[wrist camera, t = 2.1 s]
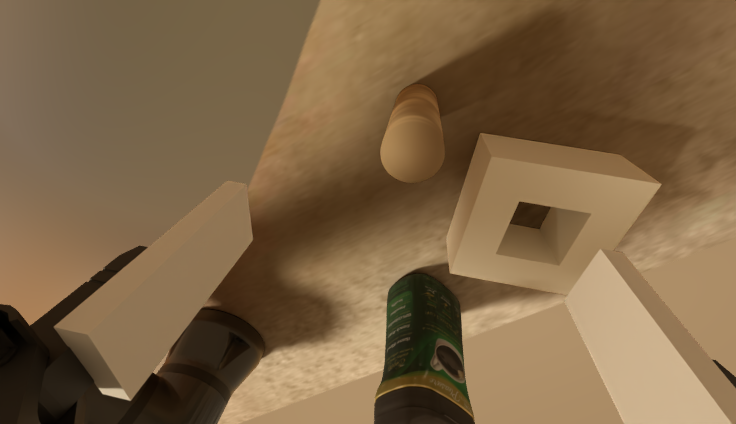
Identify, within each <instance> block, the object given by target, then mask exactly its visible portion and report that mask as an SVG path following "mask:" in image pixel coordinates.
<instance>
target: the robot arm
mask: <svg viewBox="0 0 736 424" xmlns="http://www.w3.org/2000/svg"><path fill="white" fill-rule="evenodd" d="M252 241H253V234H252V226H251V218H250V209H249V201H248V193H247V185H246V184H243V183H238V182H232V181H226V182H225V183H224V184H223V185H222V186H220V187H219V188H218V189H217V190H216V191H214V192H213V193H212V194H211V195H210V196H209V197H207V198H206V199H205V200H204V201H203V202H201V203H200V204H199V205H198V206H197V207H195V208H194V209H193V210H192V211H191V212H190V213H188V214H187V215H186V216H185V217H184V218H182V219H181V220H180V221H179V222H178V223H176V224H175V225H174V226H173V227H172V228H170V229H169V230H168V231H167V232H166V233H165V234H163V235H162V236H161V237H160V238H159V239H157V240H156V241H155V242H154V243H153V244H151V245H150V246H149V247H144V246H138V247H136V248H134V249H132V250H130V251H128V252H125V253H123V254H122V255H119V256H118V257H117V258H116V259H114V260H113V261H112V262H110V263H109V264H108V265H107V266H105V267H104V269H103V271H99V272H98V273H97V274H95V275H94V276H93V277H91V278H90V281H89V282H85V283H84V284H83V285H81V286H80V287H79V288H78V289H76V290H75V291H74V292H72V293H71V294H70V295H69V296H68V297H66V298H65V299H64V300H62V301H61V302H60V303H59V304H57V305H56V306H55V307H53V308H52V309H51V310H50V311H48V313H46V314H45V315H43V316H42V317H41V318H40V319H38V320H37V321H36V322H34V323H33V324H32V325H30V326H29V325H28V323H27V322H26V321H25V320H24V318H23V317H22V316H21V315H20V313H19V312H18V311H17V310H16V309H15V308H13V307H12V306H10V305H2V304H0V424H217V423H218V421H219V419H220V417H221V415H222V413H223V411H224V409H225V407H226V405H227V403H228V401H229V399H230V397H231V395H232V394H233V392H234V391H235V390H236V389H237V388H238V387H239V385H240V384H241V383H242V382H243V381H244V380H245V379H246V378H247V377H248V376H249V374H250V373H251V372H252V371H253V370H254V369H255V368H256V367H257V365H258V364H259V362H260V360H261V358H262V355H263V353H264V350H265V347H264V342H263V340H262V338H261V337H260V335H259V334H258V333H257V332H256V330H254V329H253V328H252V327H251V326H250V325H249V324H247V323H246V322H244V321H243V320H241V319H239V318H237V317H235V316H233V315H230V314H228V313H225V312H221V311H217V310H209V309H202V310H200V309H201V308H202V306H203V305H204V304H205V303H206V301H207V300H208V299H209V297H210V296H211V295H212V293H213V292H214V291H215V289H216V288H217V287H218V285H219V284H220V283H221V282H222V280H223V279H224V278H225V276H226V275H227V274H228V272H229V271H230V270H231V268H232V267H233V266H234V264H235V263H236V262H237V261H238V259H239V258H240V257H241V255H242V254H243V253H244V251H245V250H246V249H247V247H248V246H249V245H250V243H251V242H252ZM564 302H565V304H566V306H567V308H568V310H569V312H570V314H571V316H572V318H573V320H574V322H575V324H576V326H577V328H578V330H579V332H580V334H581V336H582V339H583V341H584V343H585V345H586V347H587V349H588V351H589V353H590V355H591V357H592V359H593V361H594V363H595V365H596V367H597V369H598V371H599V373H600V375H601V377H602V380H603V381H604V384H605V386H606V388H607V390H608V392H609V394H610V396H611V398H612V400H613V402H614V404H615V406H616V408H617V410H618V412H619V414H620V416H621V418H622V421H623V423H624V424H736V377H735V376H734V375H732V374H731V373H730V372H729V371H728V370H726V369H725V368H724V367H723V366H722V365H721V364H719V363H718V362H717V361H716V360H712V359H711V358H710V357H709V356H708V355H707V353H706V352H705V351H704V350H703V348H702V347H701V346H700V345H699V344H698V342H697V341H696V340H695V339H694V338H693V337H692V335H691V334H690V333H689V332H688V330H687V329H686V328H685V327H684V326H683V325H682V323H681V322H680V321H679V320H678V318H677V317H676V316H675V315H674V314H673V313H672V311H671V310H670V309H669V308H668V307H667V305H666V304H665V303H664V302H663V301H662V299H661V298H660V297H659V296H658V294H657V293H656V292H655V291H654V290H653V288H652V287H651V286H650V285H649V284H648V282H647V281H646V280H645V279H644V278H643V276H642V275H641V274H640V273H639V272H638V270H637V269H636V268H635V267H634V266H633V264H632V263H631V262H630V261H629V260H628V258H627V257H626V256H625V255H624V254H623V253H622V252H617V251H611V250H606V249H600V250H599V251H598V253H597V254H596V255H595V257H594V258H593V260H592V261H591V262H590V264H589V265H588V267H587V268H586V270H585V271H584V272H583V274H582V275H581V277H580V278H579V280H578V281H577V282H576V284H575V285H574V287H573V288H572V290H571V291H570V292H569V294H568V295H567V297H566V298H565V299H564ZM168 351H169V353H168V356H167V358H166V361H165V363H164V364H163V366H162V367H161V368H160V370H159V371H158V373H157V374H154V373H153V371H154V370H155V368H156V367H157V366H158V364H159V363H160V362H161V360H162V359H163V358H164V356H165V355H166V354H167V352H168Z"/></svg>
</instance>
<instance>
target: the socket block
mask: <svg viewBox="0 0 736 424" xmlns="http://www.w3.org/2000/svg"><path fill="white" fill-rule="evenodd" d="M661 185H662V184H661V183H660V182H658V181H657V180H655V179H654V178H652V177H651V176H650V175H648V174H647V173H645V172H644V171H643V170H641V169H640V168H638V167H637V166H636V165H634V164H633V163H631V162H630V161H628V160H627V159H626V158H624V157H623V156H621V155H619V154H612V153H606V152H600V151H593V150H587V149H581V148H574V147H568V146H562V145H555V144H549V143H543V142H536V141H530V140H523V139H517V138H511V137H504V136H498V135H492V134H485V133H480V135H479V138H478V141H477V144H476V147H475V150H474V153H473V157H472V160H471V163H470V166H469V169H468V172H467V175H466V178H465V181H464V184H463V188H462V191H461V194H460V197H459V200H458V203H457V206H456V209H455V212H454V216H453V219H452V222H451V225H450V228H449V231H448V234H447V237H446V241H447V251H448V261H449V271H450V273H451V274H456V275H461V276H467V277H472V278H477V279H482V280H488V281H493V282H498V283H504V284H509V285H514V286H520V287H525V288H530V289H535V290H541V291H546V292H551V293H557V294H562V295H568V294H569V292H570V291H571V290H572V288H573V287H574V285H575V284H576V282H577V281H578V280H579V278H580V277H581V275H582V274H583V272H584V271H585V270H586V268H587V267H588V265H589V264H590V262H591V261H592V260H593V258H594V257H595V255H596V254H597V253H598V251H599V250H600V249H606V250H611V251H614V249H615V248H616V247H617V245H618V244H619V242H620V241H621V240H622V238H623V237H624V236H625V234H626V233H627V231H628V230H629V229H630V227H631V226H632V225H633V223H634V222H635V221H636V219H637V218H638V216H639V215H640V214H641V212H642V211H643V210H644V208H645V207H646V205H647V204H648V203H649V201H650V200H651V199H652V197H653V196H654V194H655V193H656V192H657V190H658V189H659V188H660V186H661ZM519 201H520V202H526V203H532V204H538V205H544V206H550V207H551V208H550V210H549V212H548V214H547V216H546V218H545V220H544V221H543V223H542V225H541V227H540V229H536V228H530V227H525V226H519V225H513V224H509V223H510V221H511V219H512V217H513V214H514V212H515V210H516V208H517V206H518V203H519Z"/></svg>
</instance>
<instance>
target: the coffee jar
mask: <svg viewBox="0 0 736 424" xmlns="http://www.w3.org/2000/svg"><path fill="white" fill-rule="evenodd" d="M374 420H375V421H374V424H475V422H474V415H473V411H472V407H471V404H470V400H469V396H468V392H467V386H466V380H465V371H464V359H463V345H462V324H461V311H460V304H459V301H458V300H457V298H456V297H455V296H454V295H453V294H452V293H451V292H450V291H449V290H448V289H447V288H446V287H445V286H444V285H442V284H441V283H440V282H438V281H437V280H436V279H434V278H433V277H431V276H429V275H426V274H412V275H409V276H406V277H404V278H402V279H400V280H399V281H398V282H396V283H395V284H394V285H393V286H392V287H391V288H390V290H389V292H388V299H387V326H386V349H385V365H384V372H383V377H382V381H381V384H380V386H379V388H378V390H377V393H376V396H375V411H374Z"/></svg>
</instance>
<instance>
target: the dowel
mask: <svg viewBox="0 0 736 424" xmlns="http://www.w3.org/2000/svg"><path fill="white" fill-rule="evenodd" d="M380 157H381V161H382V164H383V166H384V168H385V169H386V171H387V172H388V173H389V174H390V175H391V176H392V177H394V178H396V179H398V180H400V181H403V182H407V183H417V182H422V181H425V180H427V179H429V178H431V177H432V176H433V175H435V174H436V173H437V172H438V170H439V169H440V168H441V166H442V164H443V161H444V158H445V145H444V139H443V133H442V126H441V120H440V114H439V108H438V101H437V97H436V95H435V93H434V92H433V91H432V90H431V89H430V88H429V87H427V86H425V85H422V84H413V85H410V86H407V87H406V88H404V89H403V90H402V91H401V92H400V93H399V95H398V97H397V99H396V102H395V105H394V108H393V111H392V114H391V117H390V120H389V123H388V126H387V129H386V132H385V135H384V139H383V142H382V145H381V149H380Z"/></svg>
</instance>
